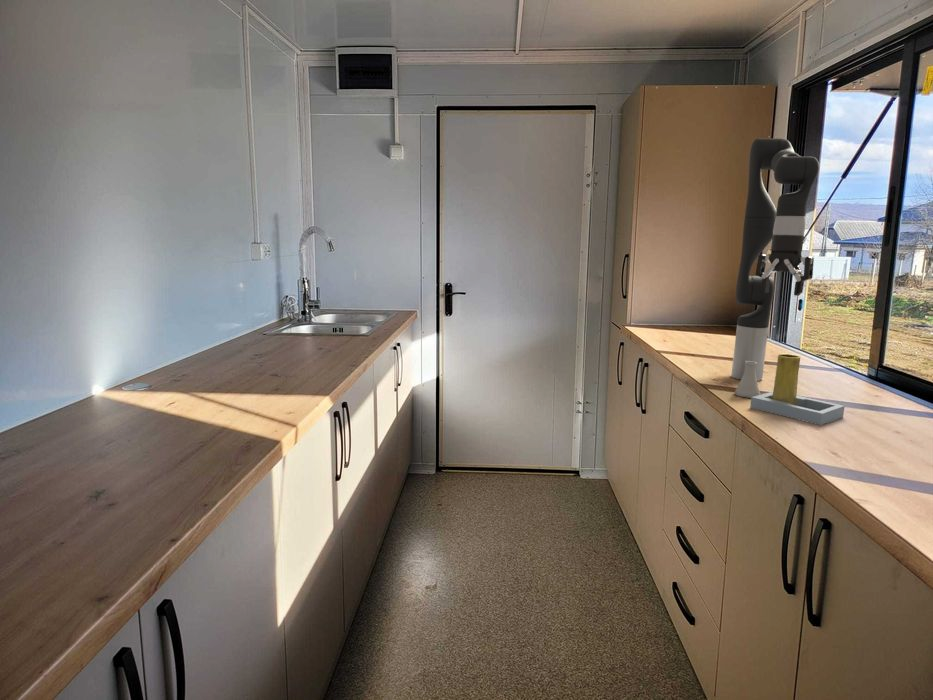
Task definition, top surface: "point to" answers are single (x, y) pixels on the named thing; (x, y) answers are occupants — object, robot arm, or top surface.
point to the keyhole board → (799, 408)
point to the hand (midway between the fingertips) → (780, 294)
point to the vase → (786, 378)
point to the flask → (748, 382)
